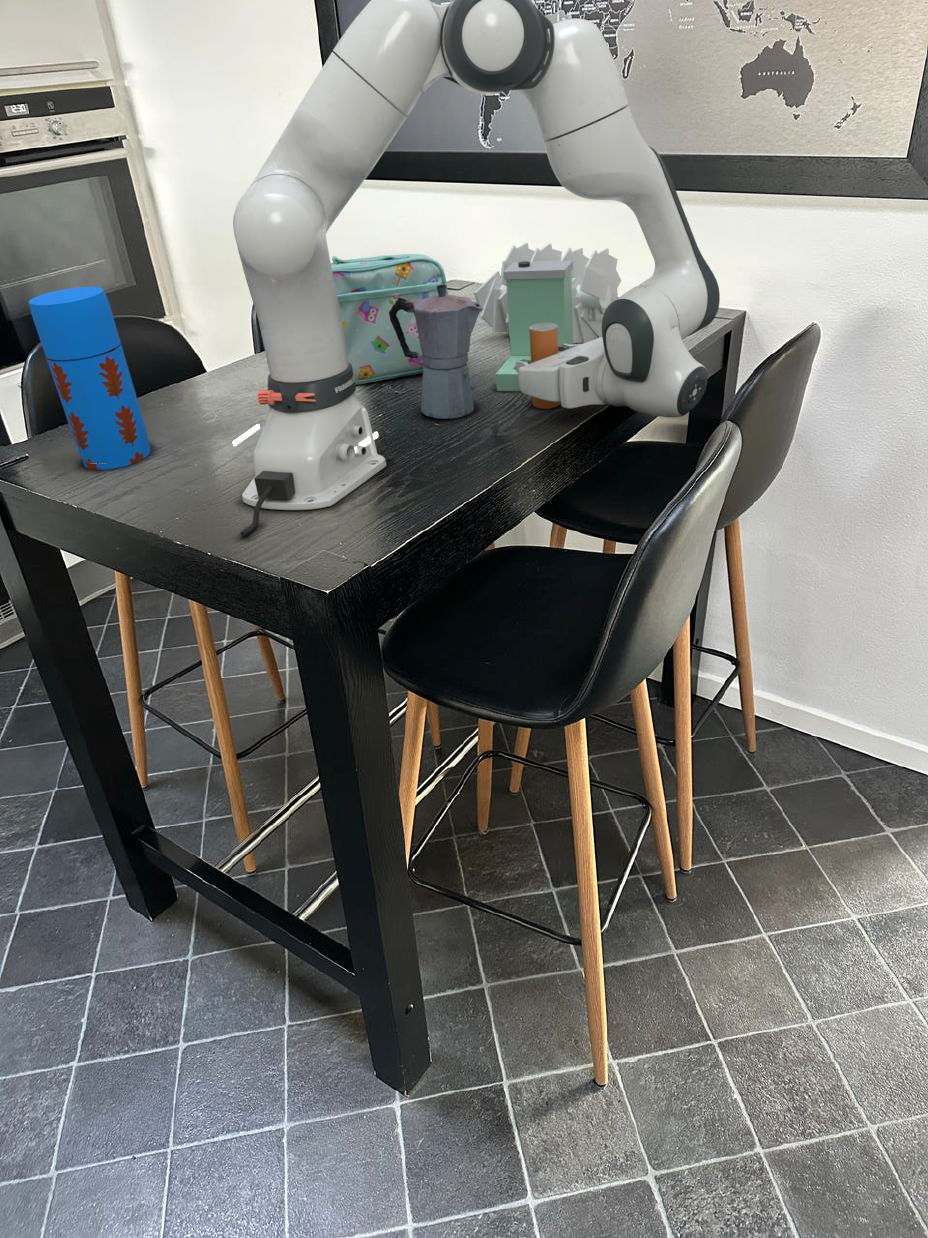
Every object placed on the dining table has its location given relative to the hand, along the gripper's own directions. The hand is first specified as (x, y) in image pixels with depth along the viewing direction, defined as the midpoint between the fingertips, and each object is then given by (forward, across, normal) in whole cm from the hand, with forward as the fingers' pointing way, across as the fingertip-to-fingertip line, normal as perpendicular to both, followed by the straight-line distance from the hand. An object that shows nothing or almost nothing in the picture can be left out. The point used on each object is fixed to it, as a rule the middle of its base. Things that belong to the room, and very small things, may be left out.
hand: (539, 357), depth 144 cm
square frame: (+9, -7, +8) cm, 14 cm away
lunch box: (+35, +6, +8) cm, 37 cm away
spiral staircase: (+24, -27, +8) cm, 37 cm away
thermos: (+40, +56, +8) cm, 69 cm away
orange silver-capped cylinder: (-1, 0, +8) cm, 8 cm away
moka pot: (+11, +12, +8) cm, 18 cm away
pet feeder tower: (+13, -14, +8) cm, 21 cm away
